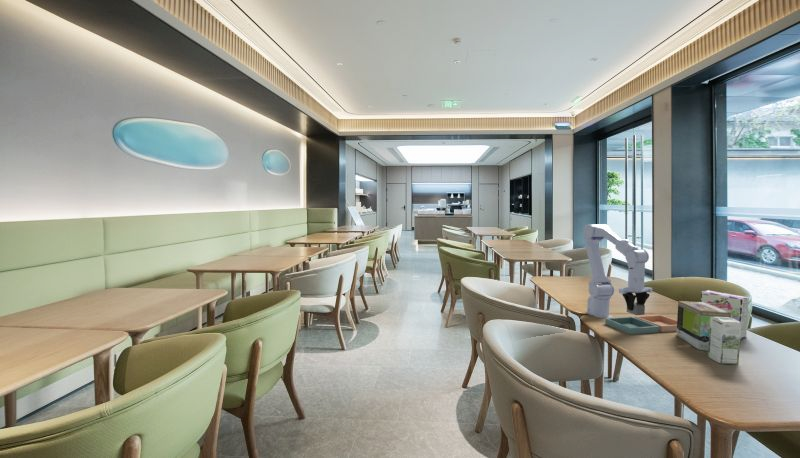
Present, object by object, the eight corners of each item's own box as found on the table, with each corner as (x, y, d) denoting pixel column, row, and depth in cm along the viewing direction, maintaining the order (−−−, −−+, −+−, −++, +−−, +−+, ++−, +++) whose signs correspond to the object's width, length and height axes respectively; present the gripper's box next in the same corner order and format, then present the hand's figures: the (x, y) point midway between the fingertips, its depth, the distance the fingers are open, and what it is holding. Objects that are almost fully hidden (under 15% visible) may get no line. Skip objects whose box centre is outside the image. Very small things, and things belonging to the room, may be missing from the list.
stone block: (626, 311, 155) (626, 302, 155) (634, 311, 156) (635, 302, 155) (636, 315, 150) (636, 305, 150) (644, 314, 151) (644, 305, 150)
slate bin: (605, 325, 159) (605, 318, 158) (631, 323, 161) (632, 316, 161) (630, 335, 145) (630, 328, 145) (658, 333, 148) (659, 326, 148)
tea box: (730, 352, 128) (732, 312, 128) (698, 350, 130) (700, 310, 130) (703, 337, 143) (705, 301, 142) (675, 336, 145) (676, 299, 144)
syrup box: (725, 357, 124) (727, 316, 123) (739, 365, 118) (741, 321, 118) (707, 356, 125) (709, 315, 124) (720, 364, 119) (722, 321, 118)
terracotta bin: (634, 323, 161) (634, 316, 161) (660, 321, 164) (660, 314, 164) (661, 333, 148) (661, 326, 148) (689, 331, 150) (689, 324, 150)
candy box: (698, 329, 153) (700, 291, 152) (705, 327, 156) (707, 289, 155) (739, 339, 141) (741, 298, 140) (747, 337, 143) (749, 296, 142)
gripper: (628, 280, 147) (627, 313, 148) (659, 279, 149) (657, 311, 150) (615, 277, 154) (614, 308, 155) (645, 276, 156) (643, 306, 157)
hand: (635, 309), depth 153 cm, fingers closed on stone block, 4 cm apart
